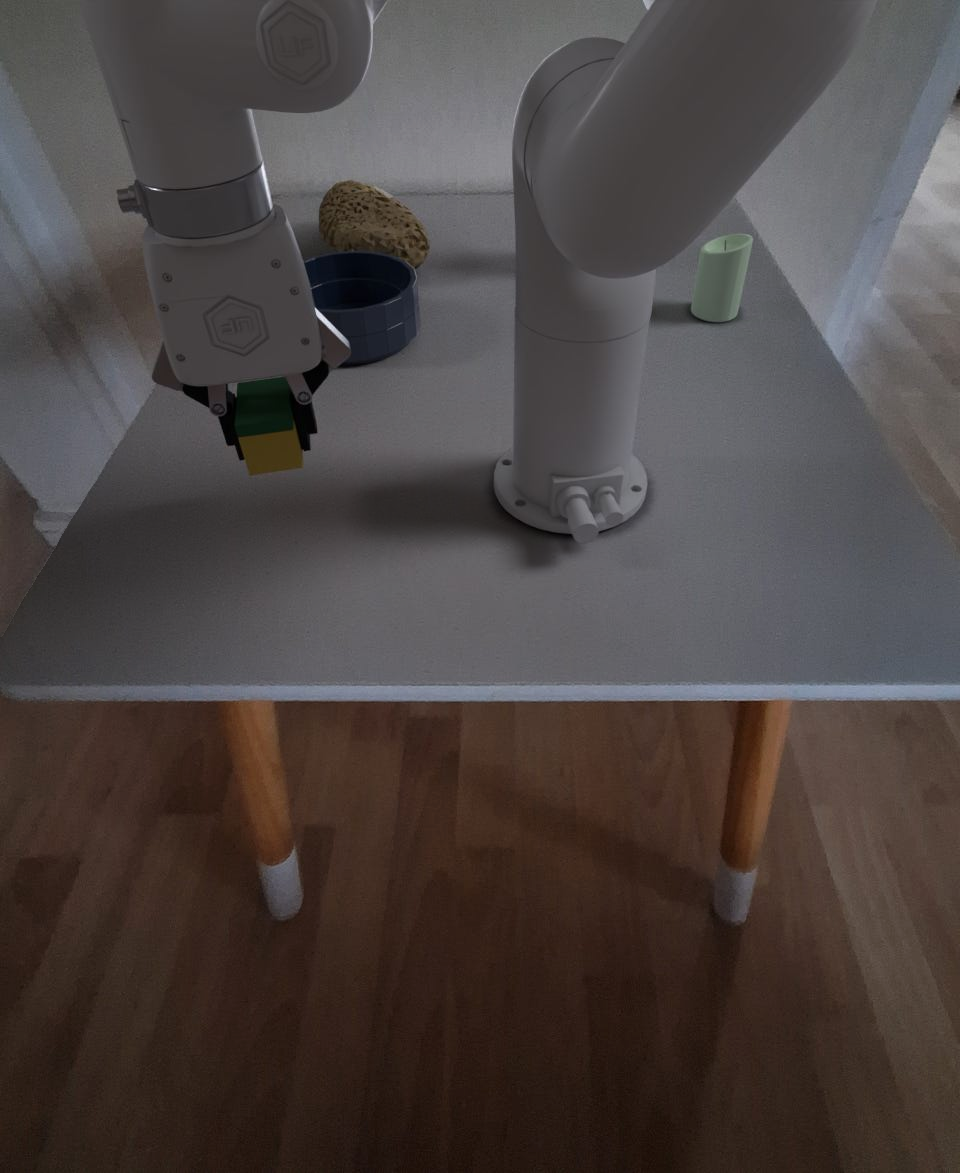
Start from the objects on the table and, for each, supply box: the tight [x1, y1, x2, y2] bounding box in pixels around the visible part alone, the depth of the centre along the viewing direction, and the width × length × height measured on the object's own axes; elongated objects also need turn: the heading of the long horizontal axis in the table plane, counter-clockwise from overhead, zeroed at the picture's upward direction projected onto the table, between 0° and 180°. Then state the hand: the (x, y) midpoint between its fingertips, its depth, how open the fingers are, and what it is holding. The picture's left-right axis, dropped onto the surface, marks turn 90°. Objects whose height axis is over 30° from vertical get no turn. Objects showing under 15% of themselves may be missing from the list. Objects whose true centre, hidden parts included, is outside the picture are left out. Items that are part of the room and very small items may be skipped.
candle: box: [690, 233, 754, 323], centre depth 89 cm, size 5×5×8 cm
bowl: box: [303, 250, 421, 366], centre depth 87 cm, size 14×14×6 cm
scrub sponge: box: [235, 376, 304, 476], centre depth 63 cm, size 6×4×4 cm, turn 10°
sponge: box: [318, 179, 431, 270], centre depth 102 cm, size 13×8×20 cm
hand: (275, 443), depth 64 cm, fingers closed on scrub sponge, 4 cm apart
